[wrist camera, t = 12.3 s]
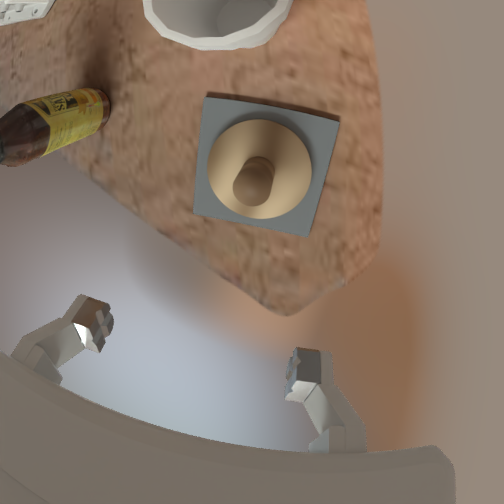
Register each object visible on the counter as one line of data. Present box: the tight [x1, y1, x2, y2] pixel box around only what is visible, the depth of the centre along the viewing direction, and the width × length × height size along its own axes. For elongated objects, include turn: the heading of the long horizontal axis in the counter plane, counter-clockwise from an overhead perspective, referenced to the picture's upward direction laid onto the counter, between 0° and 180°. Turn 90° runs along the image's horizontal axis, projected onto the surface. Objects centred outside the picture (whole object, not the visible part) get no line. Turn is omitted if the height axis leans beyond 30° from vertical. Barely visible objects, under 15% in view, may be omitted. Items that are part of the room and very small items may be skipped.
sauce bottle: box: [0, 88, 110, 167], centre depth 20 cm, size 7×6×20 cm
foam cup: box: [143, 0, 293, 50], centre depth 16 cm, size 10×9×13 cm
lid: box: [207, 119, 312, 219], centre depth 27 cm, size 11×11×6 cm
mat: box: [193, 97, 340, 237], centre depth 30 cm, size 14×14×1 cm
